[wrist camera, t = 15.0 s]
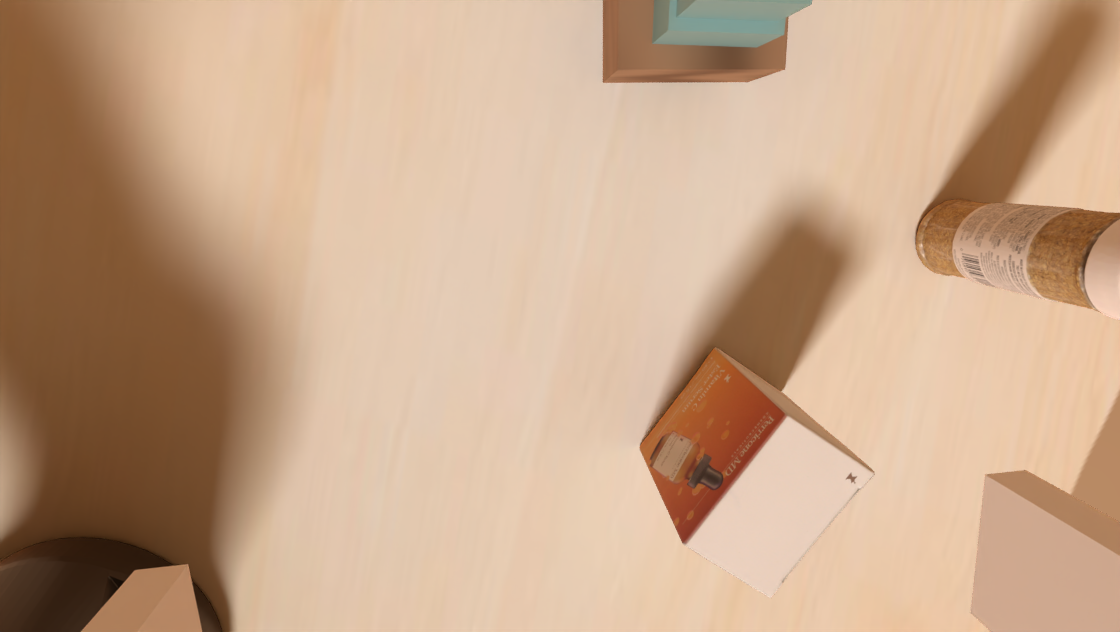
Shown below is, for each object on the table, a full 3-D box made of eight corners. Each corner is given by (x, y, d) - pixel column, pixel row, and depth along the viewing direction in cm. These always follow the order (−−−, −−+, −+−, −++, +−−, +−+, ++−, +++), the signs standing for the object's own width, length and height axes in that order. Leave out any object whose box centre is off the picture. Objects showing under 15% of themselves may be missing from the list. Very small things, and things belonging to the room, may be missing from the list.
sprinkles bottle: (993, 253, 38) (1246, 298, 25) (924, 287, 38) (1140, 349, 25) (972, 183, 37) (1224, 193, 24) (900, 218, 37) (1113, 247, 24)
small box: (713, 343, 38) (790, 408, 28) (783, 392, 39) (881, 472, 29) (634, 447, 39) (680, 547, 29) (705, 492, 40) (772, 602, 30)
